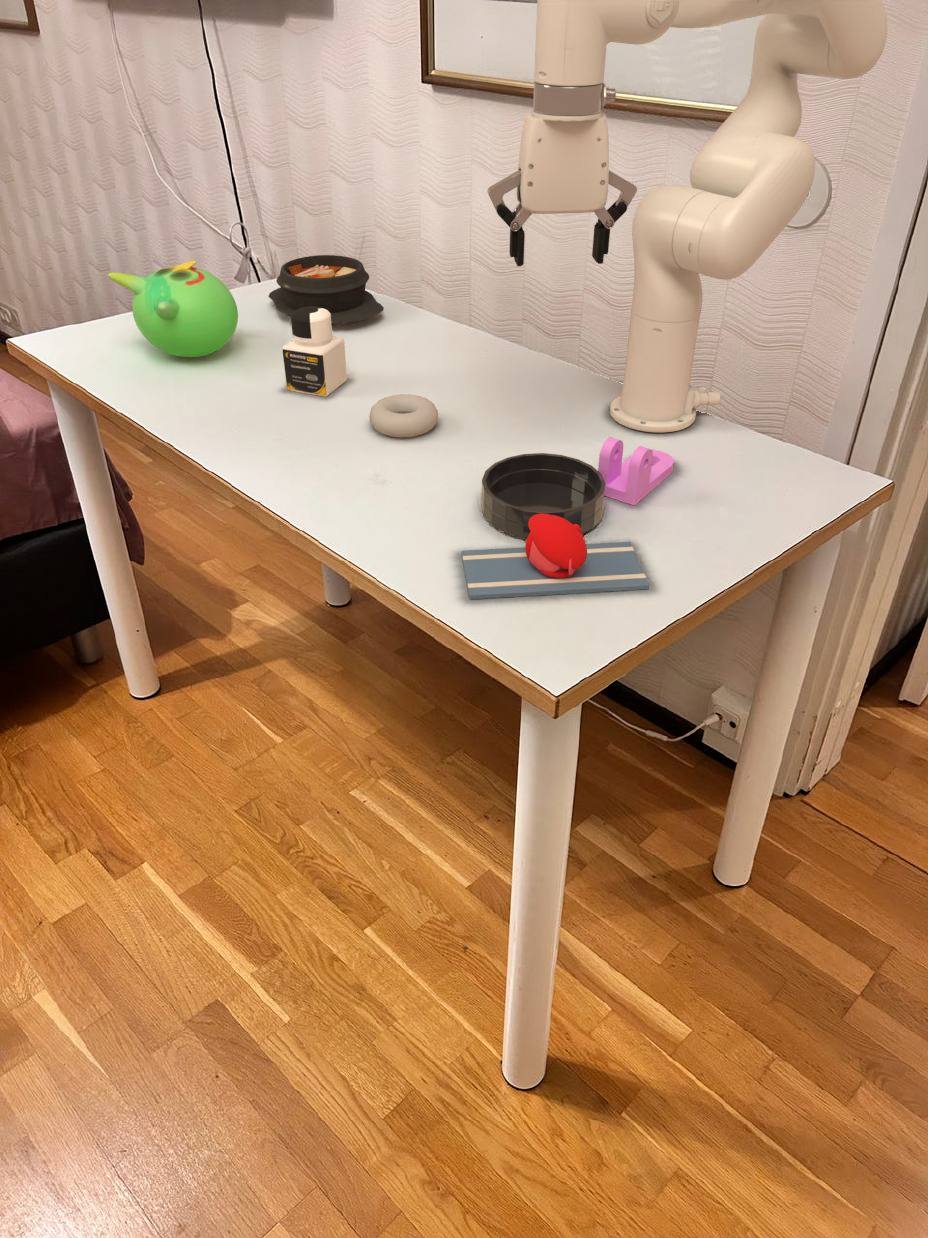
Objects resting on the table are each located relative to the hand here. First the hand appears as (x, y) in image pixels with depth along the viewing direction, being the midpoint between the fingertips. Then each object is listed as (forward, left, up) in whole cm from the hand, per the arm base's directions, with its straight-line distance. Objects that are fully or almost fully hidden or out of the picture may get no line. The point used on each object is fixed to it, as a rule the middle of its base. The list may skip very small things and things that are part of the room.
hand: (558, 261), depth 113 cm
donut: (+19, -12, -26) cm, 35 cm away
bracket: (-11, +7, -26) cm, 30 cm away
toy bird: (+54, -44, -26) cm, 75 cm away
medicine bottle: (+32, -28, -26) cm, 50 cm away
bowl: (+3, +14, -26) cm, 30 cm away
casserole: (+31, -62, -26) cm, 75 cm away
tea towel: (+4, +28, -26) cm, 38 cm away
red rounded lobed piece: (+4, +27, -26) cm, 38 cm away
